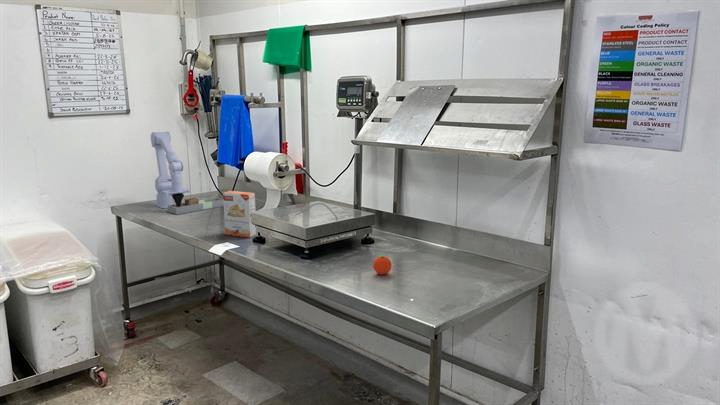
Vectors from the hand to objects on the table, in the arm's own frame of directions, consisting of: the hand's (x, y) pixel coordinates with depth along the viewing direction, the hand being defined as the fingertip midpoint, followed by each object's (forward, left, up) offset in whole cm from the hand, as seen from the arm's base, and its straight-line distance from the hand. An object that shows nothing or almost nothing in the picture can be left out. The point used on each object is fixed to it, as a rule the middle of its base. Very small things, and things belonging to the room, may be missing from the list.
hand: (178, 206), depth 295 cm
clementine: (+150, -3, -3) cm, 150 cm away
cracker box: (+66, -6, -3) cm, 66 cm away
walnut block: (0, +8, -1) cm, 9 cm away
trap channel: (0, +12, -3) cm, 12 cm away
